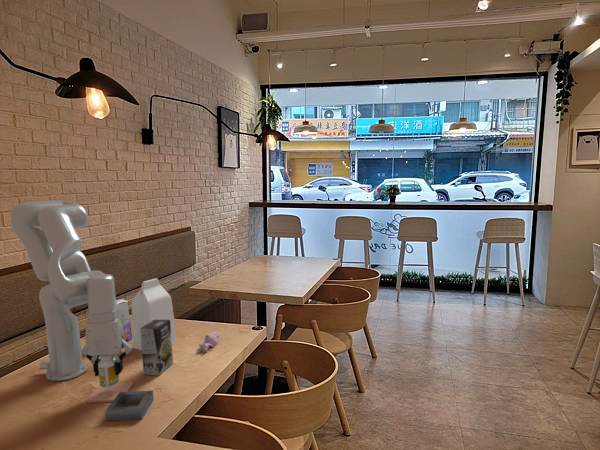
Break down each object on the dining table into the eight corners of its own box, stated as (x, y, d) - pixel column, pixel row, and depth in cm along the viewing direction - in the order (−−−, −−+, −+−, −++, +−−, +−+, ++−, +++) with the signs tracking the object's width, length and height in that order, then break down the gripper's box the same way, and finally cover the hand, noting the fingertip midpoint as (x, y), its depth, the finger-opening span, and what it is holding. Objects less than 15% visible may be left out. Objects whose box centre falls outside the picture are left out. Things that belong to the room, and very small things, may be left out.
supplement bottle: (121, 378, 128) (118, 348, 127) (117, 387, 123) (114, 356, 122) (102, 380, 127) (99, 350, 126) (97, 389, 122) (94, 358, 121)
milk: (152, 353, 153) (147, 285, 150) (132, 347, 159) (127, 282, 156) (177, 342, 164) (172, 278, 160) (157, 336, 170) (153, 275, 166)
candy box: (125, 336, 171) (122, 298, 169) (132, 339, 167) (129, 300, 166) (91, 347, 161) (87, 306, 159) (98, 351, 157) (94, 309, 155)
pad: (86, 402, 121) (85, 400, 121) (101, 385, 131) (101, 383, 130) (120, 401, 121) (120, 399, 121) (133, 384, 131) (133, 382, 131)
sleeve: (106, 420, 111) (105, 410, 111) (120, 401, 121) (119, 391, 120) (142, 419, 111) (141, 409, 111) (153, 400, 121) (152, 390, 120)
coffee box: (160, 376, 136) (156, 329, 134) (142, 374, 137) (139, 328, 135) (174, 363, 145) (171, 319, 143) (157, 362, 146) (154, 318, 144)
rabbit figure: (208, 358, 151) (226, 336, 165) (206, 344, 149) (224, 323, 163) (193, 357, 153) (212, 335, 166) (190, 343, 151) (210, 322, 165)
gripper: (67, 321, 119) (73, 381, 121) (127, 319, 119) (132, 378, 121) (80, 313, 126) (86, 369, 128) (137, 310, 127) (141, 366, 129)
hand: (108, 373), depth 125 cm, fingers closed on supplement bottle, 5 cm apart
